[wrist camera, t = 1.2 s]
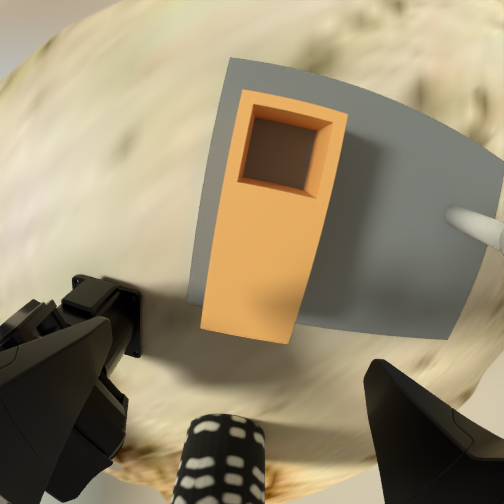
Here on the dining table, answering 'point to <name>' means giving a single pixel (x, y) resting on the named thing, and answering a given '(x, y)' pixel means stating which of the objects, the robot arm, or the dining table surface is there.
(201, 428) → the spotted tube
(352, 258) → the keeper board
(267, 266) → the orange rectangular block
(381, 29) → the dining table surface
